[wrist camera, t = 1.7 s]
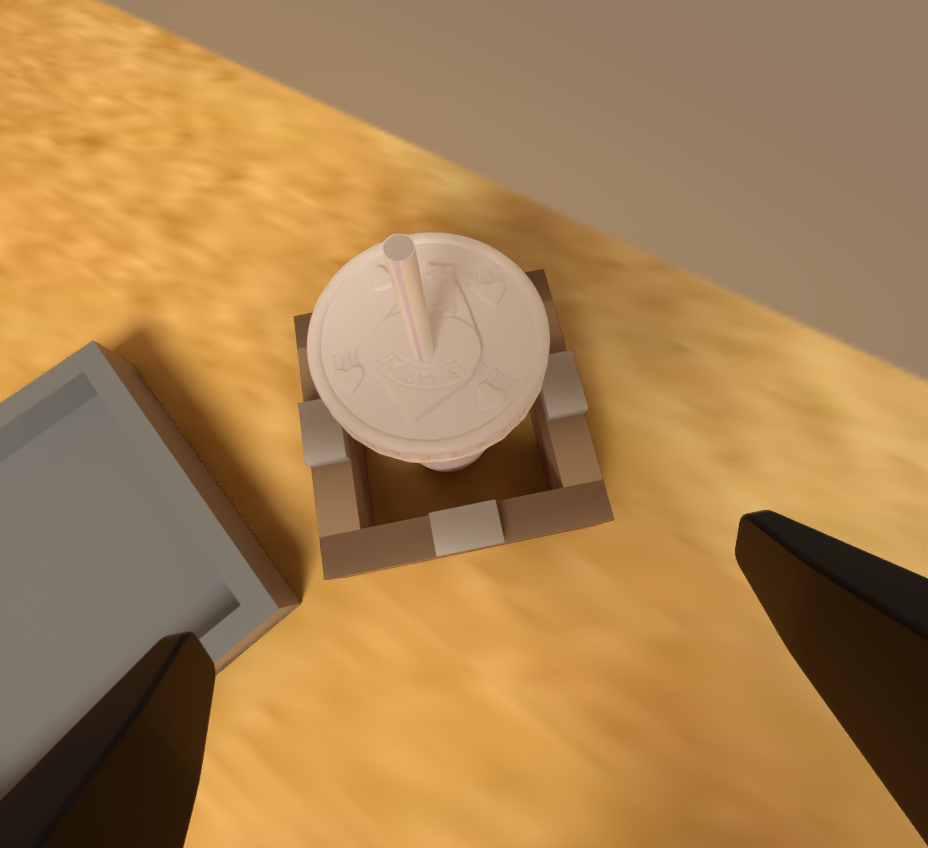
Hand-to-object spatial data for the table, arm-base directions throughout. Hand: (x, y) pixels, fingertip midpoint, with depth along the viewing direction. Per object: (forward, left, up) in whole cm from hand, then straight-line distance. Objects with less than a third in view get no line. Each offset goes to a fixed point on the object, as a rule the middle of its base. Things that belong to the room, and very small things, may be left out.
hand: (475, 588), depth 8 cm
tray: (-8, +15, -13) cm, 21 cm away
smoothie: (+5, +4, -13) cm, 14 cm away
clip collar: (+5, +4, -13) cm, 14 cm away
